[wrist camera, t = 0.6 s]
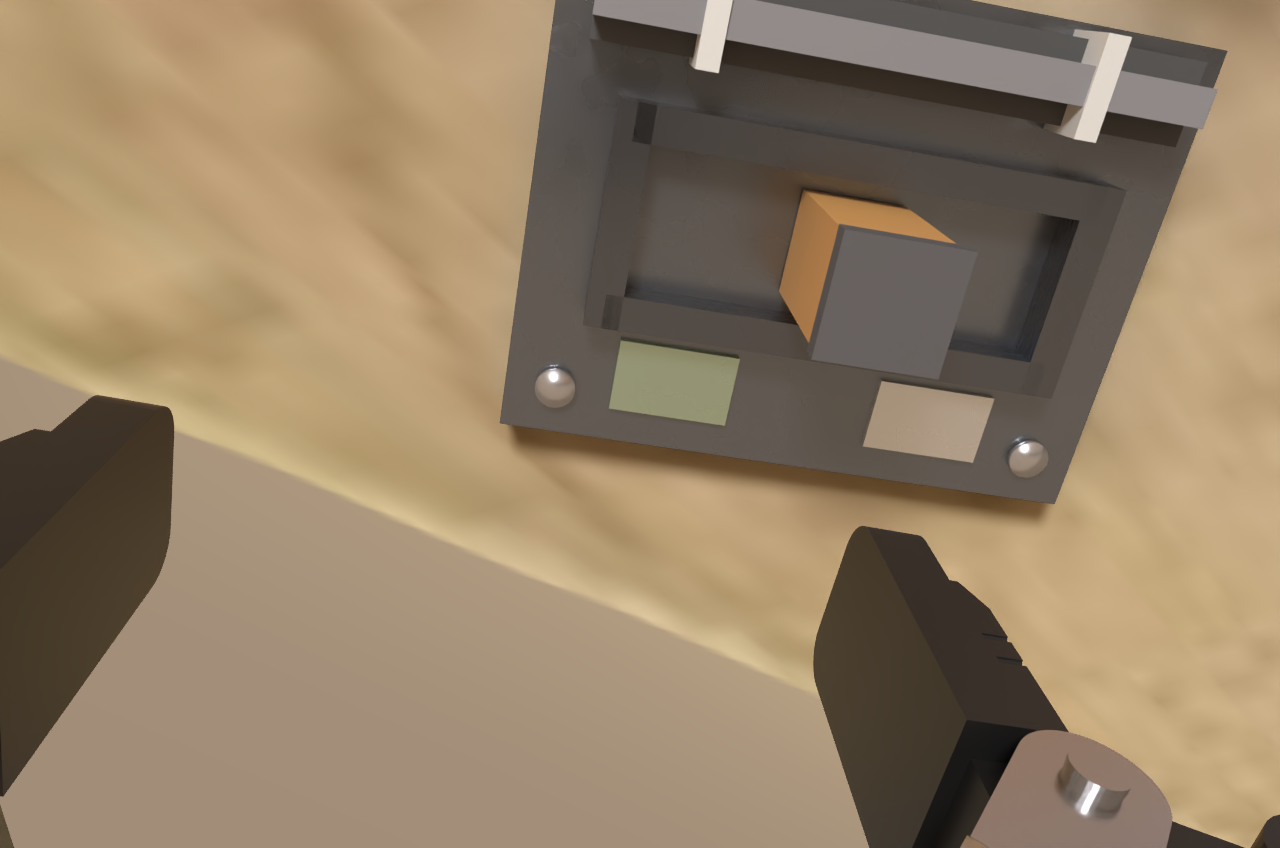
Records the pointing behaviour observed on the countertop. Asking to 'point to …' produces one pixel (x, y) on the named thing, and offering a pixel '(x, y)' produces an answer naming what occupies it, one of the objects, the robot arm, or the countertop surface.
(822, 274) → the lever
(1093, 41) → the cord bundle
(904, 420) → the breaker panel
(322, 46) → the countertop surface
